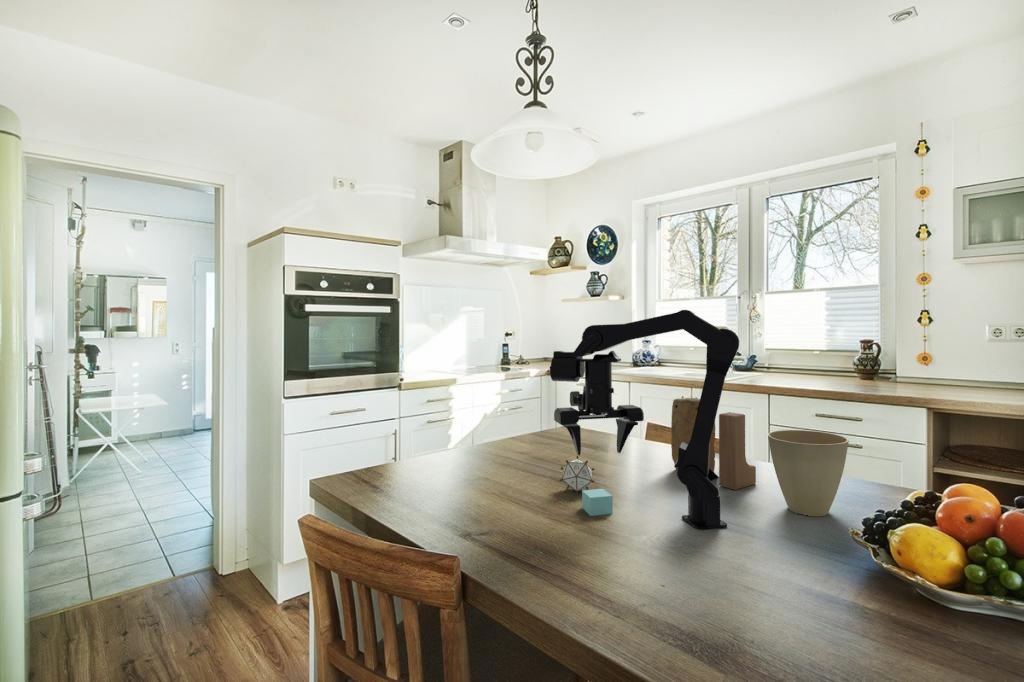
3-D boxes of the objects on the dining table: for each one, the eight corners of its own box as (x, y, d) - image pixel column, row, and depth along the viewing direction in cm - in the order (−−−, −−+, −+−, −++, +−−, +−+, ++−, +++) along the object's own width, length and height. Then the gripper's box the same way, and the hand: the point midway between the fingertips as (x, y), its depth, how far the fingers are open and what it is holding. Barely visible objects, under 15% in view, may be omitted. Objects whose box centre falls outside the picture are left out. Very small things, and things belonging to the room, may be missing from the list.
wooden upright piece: (668, 470, 141) (668, 398, 141) (684, 465, 146) (684, 395, 145) (704, 479, 132) (703, 402, 132) (720, 473, 137) (719, 399, 136)
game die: (574, 503, 126) (575, 464, 132) (602, 497, 121) (602, 457, 127) (550, 492, 121) (552, 452, 127) (579, 485, 116) (579, 445, 122)
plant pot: (804, 495, 119) (804, 427, 118) (866, 518, 104) (866, 440, 104) (752, 503, 114) (752, 432, 114) (809, 527, 100) (809, 446, 99)
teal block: (612, 514, 109) (612, 495, 109) (590, 516, 108) (590, 497, 108) (603, 506, 114) (603, 488, 114) (582, 508, 113) (582, 490, 113)
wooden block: (739, 479, 132) (739, 410, 131) (756, 484, 128) (756, 412, 127) (718, 486, 127) (718, 413, 126) (735, 490, 123) (734, 416, 122)
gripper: (623, 377, 121) (624, 443, 121) (547, 380, 117) (548, 447, 118) (644, 382, 110) (645, 454, 110) (560, 385, 106) (561, 460, 107)
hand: (598, 453), depth 112 cm, fingers open, 9 cm apart
